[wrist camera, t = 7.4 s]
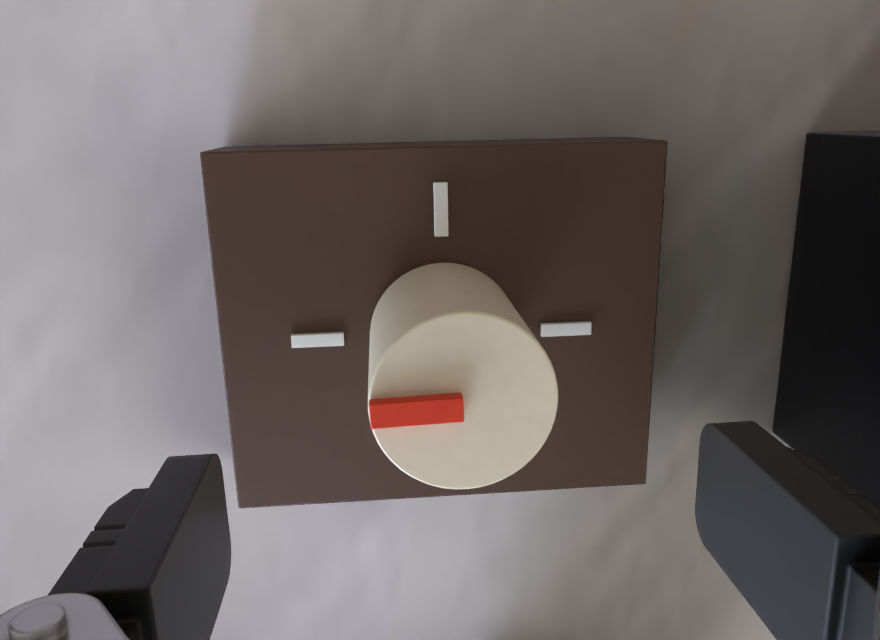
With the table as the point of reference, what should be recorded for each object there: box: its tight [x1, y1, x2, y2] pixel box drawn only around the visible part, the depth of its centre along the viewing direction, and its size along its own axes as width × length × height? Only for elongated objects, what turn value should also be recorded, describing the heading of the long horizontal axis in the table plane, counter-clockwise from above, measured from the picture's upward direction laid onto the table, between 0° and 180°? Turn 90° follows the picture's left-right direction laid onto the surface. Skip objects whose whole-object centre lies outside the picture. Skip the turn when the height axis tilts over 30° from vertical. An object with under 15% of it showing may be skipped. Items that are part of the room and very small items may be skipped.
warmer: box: [200, 137, 667, 508], centre depth 21 cm, size 10×12×3 cm
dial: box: [368, 263, 558, 489], centre depth 17 cm, size 4×4×5 cm
